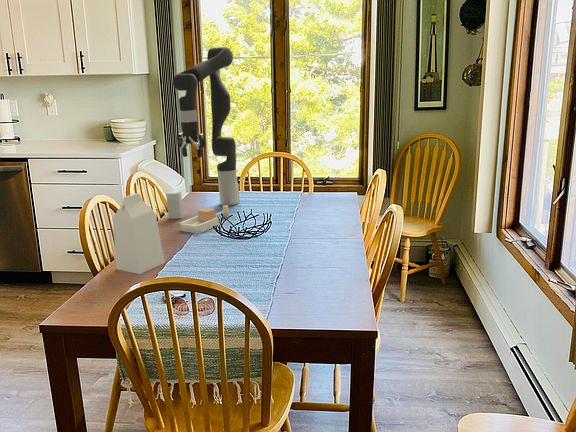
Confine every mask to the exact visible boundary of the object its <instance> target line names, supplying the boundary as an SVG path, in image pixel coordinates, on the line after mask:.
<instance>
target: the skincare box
mask: <svg viewBox="0 0 576 432" xmlns="http://www.w3.org/2000/svg"><path fill="white" fill-rule="evenodd" d="M165 196H166V204H167V205H166V206H167V214H168V219H182V218H183V217H184V215H185V214H184V207H183V199H182V198H183V197H182V191H181V190H180V191H179V190H178V191H168V192H167V193H165Z"/></svg>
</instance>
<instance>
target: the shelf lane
mask: <svg viewBox="0 0 576 432" xmlns="http://www.w3.org/2000/svg"><path fill="white" fill-rule="evenodd" d="M217 225H219V226H220V218H219V217H217V216H216V218H214V219H211V220H209V221H206V222H198V215H196V216H194V217H190V218H188V219H185V220H183V221H180V222H179V231H180V232H186V233H188V232H189V233H192V234H193V233H194V234H199V233H200V234H202V233H201V232H203V233H205V232H207V231H209V229H210V230H211V228H212V229H214V228H213V226H217ZM217 227H218V226H217ZM206 230H207V231H206ZM204 231H205V232H204ZM196 232H197V233H196Z"/></svg>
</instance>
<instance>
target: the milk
mask: <svg viewBox="0 0 576 432" xmlns="http://www.w3.org/2000/svg"><path fill="white" fill-rule="evenodd" d="M112 217H113V218H112V230H113V241H114V253H115V262H116V263H115V264H116V270H119V271H123V272H128V273H133V274H137V275H141V274H143V273H145V272H148V271H150V270H153V269H154V268H156V267H159V266H161V265H163V264H165V263H166V262H165V257H164V256H165V255H164V251H163V247H162V241H161V240H162V239H161V236H160V235H161V234H160V230H159V225H158V220H157V218H158V217H157V215H156V212H155V211H154V210H153V209H152V208H151V207H150V206H149V205H148V204H147V203H146V202H145V201H144V200H143V197H142V195H141V194H140V192H139V193H138V192H136V193H132V194H129V195H126V196H123V200H122V204H121V206H120V207H119V209H118V210H117V211H116V212H115V213H114V215H113V216H112Z"/></svg>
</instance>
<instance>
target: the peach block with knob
mask: <svg viewBox="0 0 576 432" xmlns="http://www.w3.org/2000/svg"><path fill="white" fill-rule="evenodd" d="M229 211H230V210H229V205H222V211H219V212H217V213H216V208H210V207H203V208H200V209H197V212H196V213H197V216H198V222H206V221H209V220H211V219H214V218H216V217H217V216H218V215H221V214H222V215H223V217H228V216H230V213H229Z"/></svg>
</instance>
